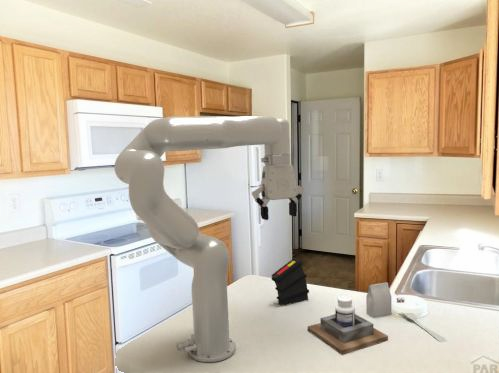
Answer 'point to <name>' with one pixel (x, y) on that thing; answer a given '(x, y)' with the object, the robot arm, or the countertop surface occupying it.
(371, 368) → the countertop surface
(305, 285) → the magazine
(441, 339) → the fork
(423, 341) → the countertop surface
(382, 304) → the grey upright pouch
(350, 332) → the mount
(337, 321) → the pill bottle
